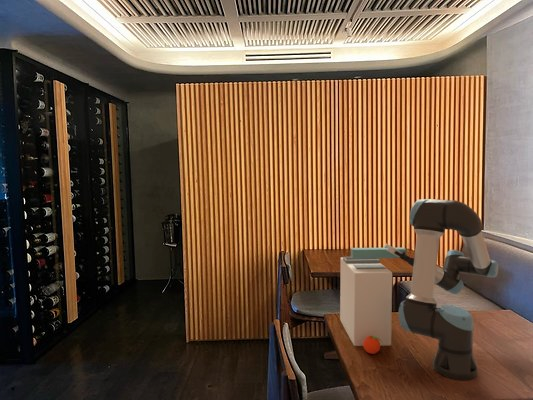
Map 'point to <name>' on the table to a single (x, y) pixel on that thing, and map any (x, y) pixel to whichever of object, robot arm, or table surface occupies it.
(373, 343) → the tomato
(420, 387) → the table surface
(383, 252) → the teal block
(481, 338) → the table surface
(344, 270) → the tall cream box
